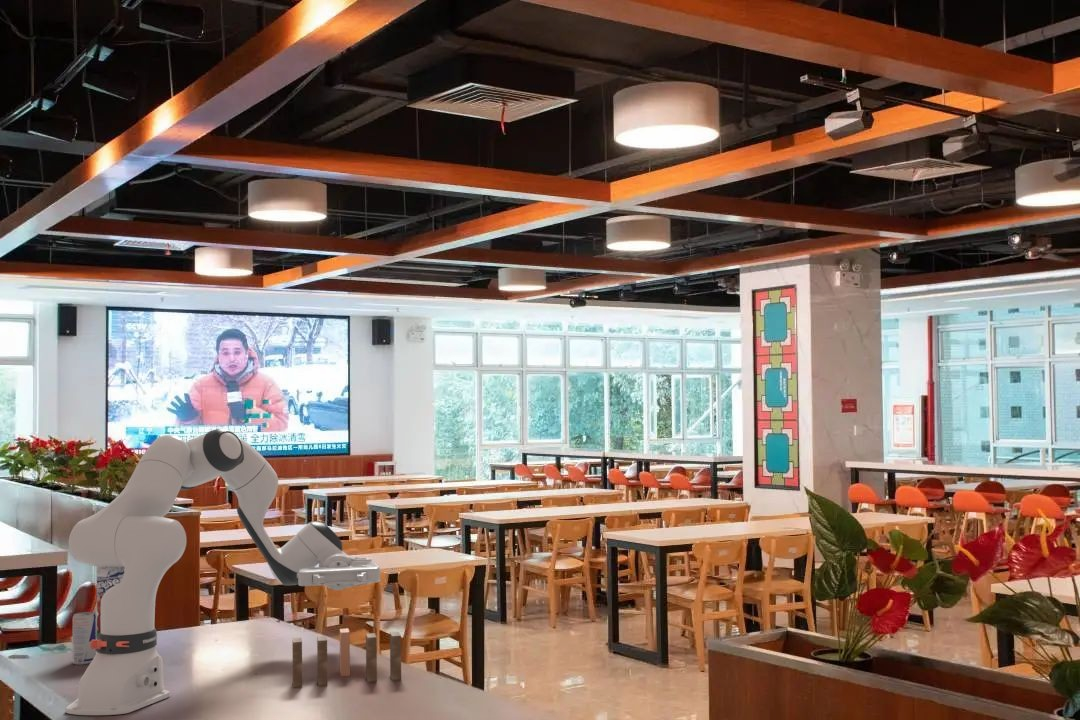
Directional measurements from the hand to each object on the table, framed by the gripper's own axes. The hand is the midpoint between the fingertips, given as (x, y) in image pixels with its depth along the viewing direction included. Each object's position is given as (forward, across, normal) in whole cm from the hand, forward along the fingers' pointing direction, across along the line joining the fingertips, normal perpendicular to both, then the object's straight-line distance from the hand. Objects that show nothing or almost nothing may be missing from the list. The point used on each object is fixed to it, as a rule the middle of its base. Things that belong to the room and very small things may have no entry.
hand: (340, 579), depth 274 cm
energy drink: (-21, -62, +20) cm, 69 cm away
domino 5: (+20, +11, +20) cm, 30 cm away
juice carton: (-32, -55, +20) cm, 67 cm away
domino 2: (+19, -6, +20) cm, 28 cm away
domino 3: (+11, 0, +20) cm, 23 cm away
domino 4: (+19, +6, +20) cm, 28 cm away
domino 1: (+19, -11, +20) cm, 30 cm away
